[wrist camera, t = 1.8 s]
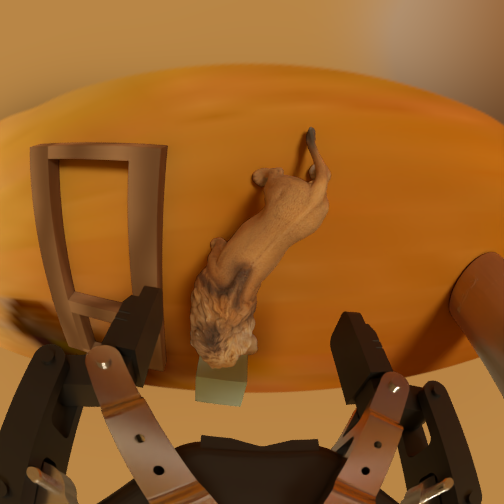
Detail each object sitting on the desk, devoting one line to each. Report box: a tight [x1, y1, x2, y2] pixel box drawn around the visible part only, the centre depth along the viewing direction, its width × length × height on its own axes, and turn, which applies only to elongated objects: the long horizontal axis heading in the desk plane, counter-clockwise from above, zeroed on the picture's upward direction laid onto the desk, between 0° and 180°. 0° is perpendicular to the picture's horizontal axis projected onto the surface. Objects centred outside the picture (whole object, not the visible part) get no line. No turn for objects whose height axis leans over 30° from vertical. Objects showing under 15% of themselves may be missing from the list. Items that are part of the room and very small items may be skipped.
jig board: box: [30, 143, 168, 372], centre depth 21 cm, size 12×22×2 cm, turn 171°
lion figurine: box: [190, 127, 331, 369], centre depth 16 cm, size 15×5×9 cm, turn 154°
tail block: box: [195, 355, 248, 407], centre depth 23 cm, size 4×4×6 cm
